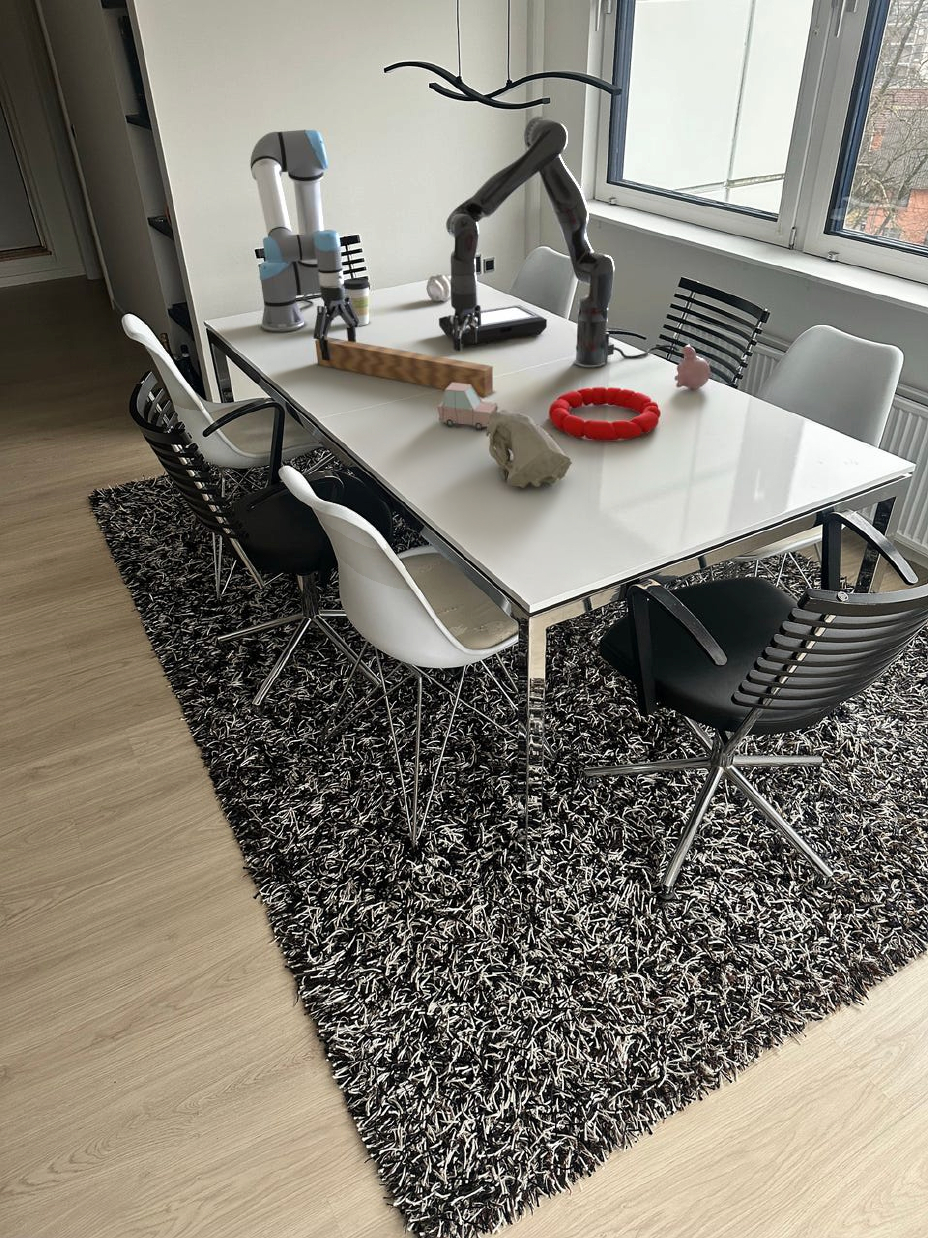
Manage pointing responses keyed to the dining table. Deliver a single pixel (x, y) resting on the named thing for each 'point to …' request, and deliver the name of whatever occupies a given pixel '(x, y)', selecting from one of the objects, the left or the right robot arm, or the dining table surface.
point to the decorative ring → (604, 428)
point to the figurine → (692, 370)
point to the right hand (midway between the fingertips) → (465, 346)
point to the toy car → (465, 406)
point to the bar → (406, 365)
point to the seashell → (439, 287)
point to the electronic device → (502, 325)
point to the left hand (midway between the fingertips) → (339, 353)
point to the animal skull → (525, 450)
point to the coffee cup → (359, 297)
